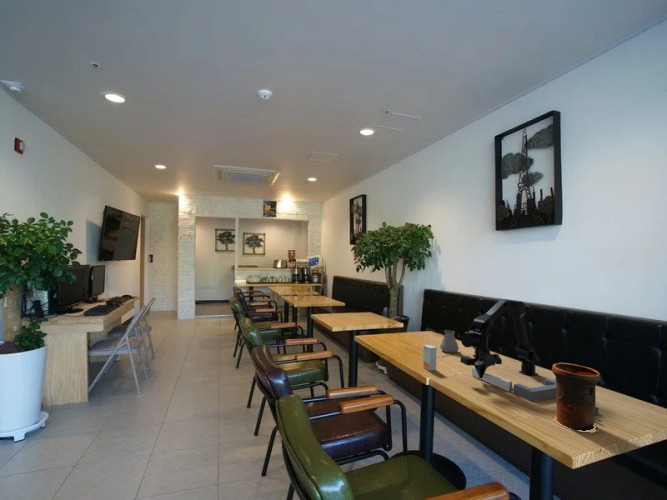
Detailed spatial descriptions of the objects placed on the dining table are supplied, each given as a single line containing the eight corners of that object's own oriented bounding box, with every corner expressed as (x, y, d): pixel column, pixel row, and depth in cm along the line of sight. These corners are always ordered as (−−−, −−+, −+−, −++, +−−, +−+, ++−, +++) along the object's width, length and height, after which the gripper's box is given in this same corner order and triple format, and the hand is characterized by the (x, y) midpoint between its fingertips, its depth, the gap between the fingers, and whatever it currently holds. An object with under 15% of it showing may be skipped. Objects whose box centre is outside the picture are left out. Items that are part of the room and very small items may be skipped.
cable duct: (548, 387, 158) (548, 378, 158) (568, 394, 150) (568, 385, 150) (513, 393, 150) (513, 384, 150) (532, 401, 141) (532, 391, 141)
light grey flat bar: (512, 392, 150) (512, 382, 150) (510, 392, 150) (510, 382, 150) (473, 375, 172) (473, 366, 172) (471, 375, 171) (471, 366, 171)
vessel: (563, 411, 133) (565, 360, 133) (606, 428, 120) (608, 372, 120) (541, 418, 126) (543, 364, 126) (585, 438, 113) (587, 378, 113)
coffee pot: (453, 348, 223) (453, 326, 223) (462, 353, 211) (462, 329, 212) (422, 349, 220) (422, 326, 220) (429, 354, 208) (430, 329, 209)
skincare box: (422, 367, 182) (423, 345, 183) (429, 366, 184) (429, 344, 184) (429, 371, 177) (430, 348, 177) (436, 370, 178) (436, 347, 178)
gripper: (474, 350, 153) (473, 385, 153) (510, 349, 157) (509, 383, 156) (460, 344, 164) (459, 376, 164) (494, 343, 168) (493, 375, 167)
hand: (480, 378), depth 162 cm, fingers closed
